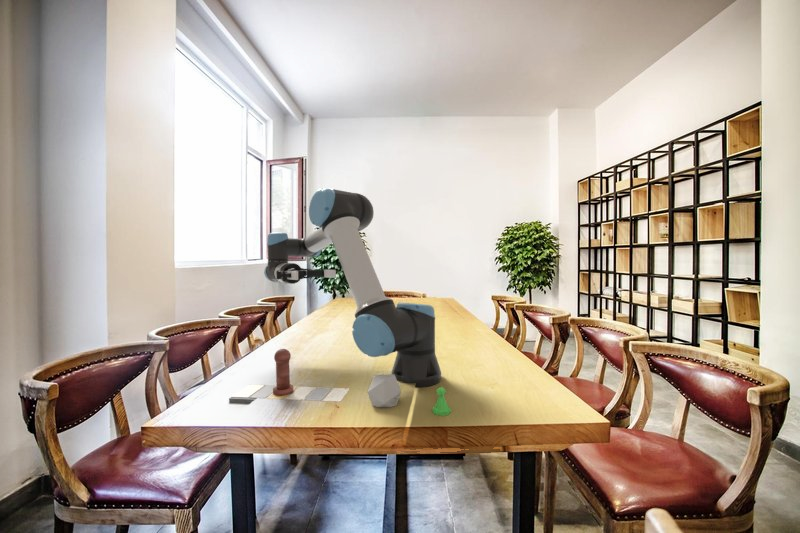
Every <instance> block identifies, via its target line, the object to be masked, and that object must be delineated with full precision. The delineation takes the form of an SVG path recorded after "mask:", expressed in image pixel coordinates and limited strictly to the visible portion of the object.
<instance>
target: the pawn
mask: <svg viewBox="0 0 800 533" xmlns="http://www.w3.org/2000/svg"><path fill="white" fill-rule="evenodd" d="M291 358H292V355H291V352H290V351H289V350H288V349H286V348H280V349H278V350H277V351H275V353H274V362H275V371H276V372H275V374H276V376H275V377H276V379H275V380H276V385H274V386H275V387H274V388H273V393H272V394H274V395H276V396H284V395H288V394H289V395H291V394H292V393H293V392H294V391H293V386H294V385H293V384H291V381H290V379H291V378H290V376H291V375H290V372H291V371H290V360H291ZM289 395H288V396H289Z"/></svg>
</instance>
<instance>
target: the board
mask: <svg viewBox="0 0 800 533" xmlns="http://www.w3.org/2000/svg"><path fill="white" fill-rule="evenodd" d="M275 386H276V385H272V384H252V383H251V384H249V385H247V386H246V387H244V388H242V389H241V390H239V391H238V392H236V393H235V394H233V395H231V397H229V398H228V403H237V404H239V403H240V404H251V403H253V402H254V401H255V400H257V399H269V400H270V399H271V400H292V401H314V402H315V401H317V402H319V401H320V402H321V401H322V402H335V403H338V402H342V400H343V399H344V397H346V395H347V393H348V392H349V391H350V388H347V387H346V388H341V387H321V386H320V387H319V386H317V387H315V386H297V385H296V386H294V385H293V392H292V393H291V394H288V395H284V396H276V395H274V394H273V388H274V387H275Z"/></svg>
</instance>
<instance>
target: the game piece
mask: <svg viewBox="0 0 800 533" xmlns="http://www.w3.org/2000/svg"><path fill="white" fill-rule="evenodd" d="M446 393H447V392H446V389H445V388H444V387H443V386H440V387H438V388H436V394H437V395H438V397H437V400H436V403H435V405H434V406H433V407H432V408H431V409H432V412H433V414H434V415H436V416H448V415H449V414H450V413H451V408H450V407H449V406H448V403H447V401H446V398H445V394H446Z"/></svg>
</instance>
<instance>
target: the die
mask: <svg viewBox="0 0 800 533" xmlns="http://www.w3.org/2000/svg"><path fill="white" fill-rule="evenodd" d="M398 382H399V381H397V379H396V377H395V374H393V375H392V374H374V375H373V378H372V380H371V383H370V385H369V387H368V390H367V395H368V398H369V400H370V402H371V405H372V406H373V407H376V408H392V407H394V406H397V405H398V403H399V399H400V396H401V394H402V390H401V387H400V385H399V383H398Z"/></svg>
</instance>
